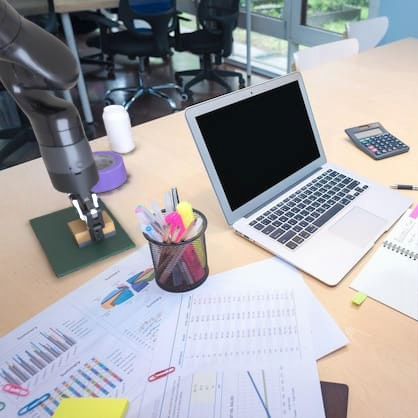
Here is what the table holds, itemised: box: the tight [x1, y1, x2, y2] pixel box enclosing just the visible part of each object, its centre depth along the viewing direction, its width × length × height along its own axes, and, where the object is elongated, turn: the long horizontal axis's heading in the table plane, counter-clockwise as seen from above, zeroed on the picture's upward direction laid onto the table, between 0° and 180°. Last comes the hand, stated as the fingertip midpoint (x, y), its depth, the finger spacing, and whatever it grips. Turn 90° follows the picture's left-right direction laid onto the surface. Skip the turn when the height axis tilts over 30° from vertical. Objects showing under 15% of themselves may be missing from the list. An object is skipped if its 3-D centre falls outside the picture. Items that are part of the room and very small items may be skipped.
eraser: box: [68, 210, 116, 248], centre depth 78 cm, size 7×4×4 cm, turn 132°
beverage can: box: [102, 104, 136, 154], centre depth 105 cm, size 6×6×12 cm
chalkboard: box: [28, 197, 137, 279], centre depth 80 cm, size 14×20×1 cm
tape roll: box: [91, 150, 128, 194], centre depth 94 cm, size 12×12×5 cm
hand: (94, 233), depth 79 cm, fingers closed on eraser, 4 cm apart
